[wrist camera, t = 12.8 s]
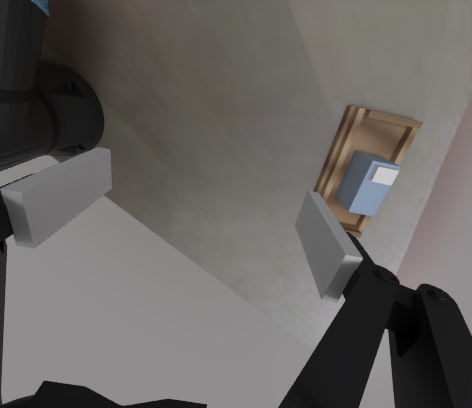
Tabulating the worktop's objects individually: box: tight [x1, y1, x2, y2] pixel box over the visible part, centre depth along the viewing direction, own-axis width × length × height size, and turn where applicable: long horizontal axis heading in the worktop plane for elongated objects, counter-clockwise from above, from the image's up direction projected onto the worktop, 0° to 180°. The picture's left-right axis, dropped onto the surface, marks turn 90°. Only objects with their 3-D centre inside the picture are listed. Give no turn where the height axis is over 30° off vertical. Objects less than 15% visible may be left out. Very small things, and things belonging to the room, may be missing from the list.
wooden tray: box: [314, 105, 423, 238], centre depth 42 cm, size 22×12×4 cm, turn 168°
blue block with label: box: [335, 150, 401, 217], centre depth 40 cm, size 9×4×8 cm, turn 169°
